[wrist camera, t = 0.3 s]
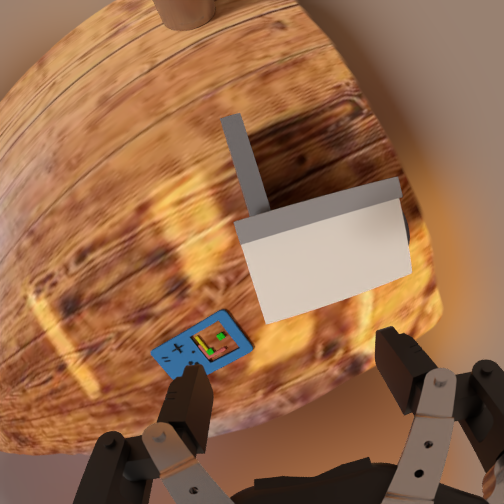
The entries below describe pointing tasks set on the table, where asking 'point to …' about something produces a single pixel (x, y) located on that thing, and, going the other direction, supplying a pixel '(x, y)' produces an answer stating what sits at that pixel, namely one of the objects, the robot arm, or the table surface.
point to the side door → (245, 165)
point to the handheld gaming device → (200, 347)
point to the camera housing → (326, 248)
